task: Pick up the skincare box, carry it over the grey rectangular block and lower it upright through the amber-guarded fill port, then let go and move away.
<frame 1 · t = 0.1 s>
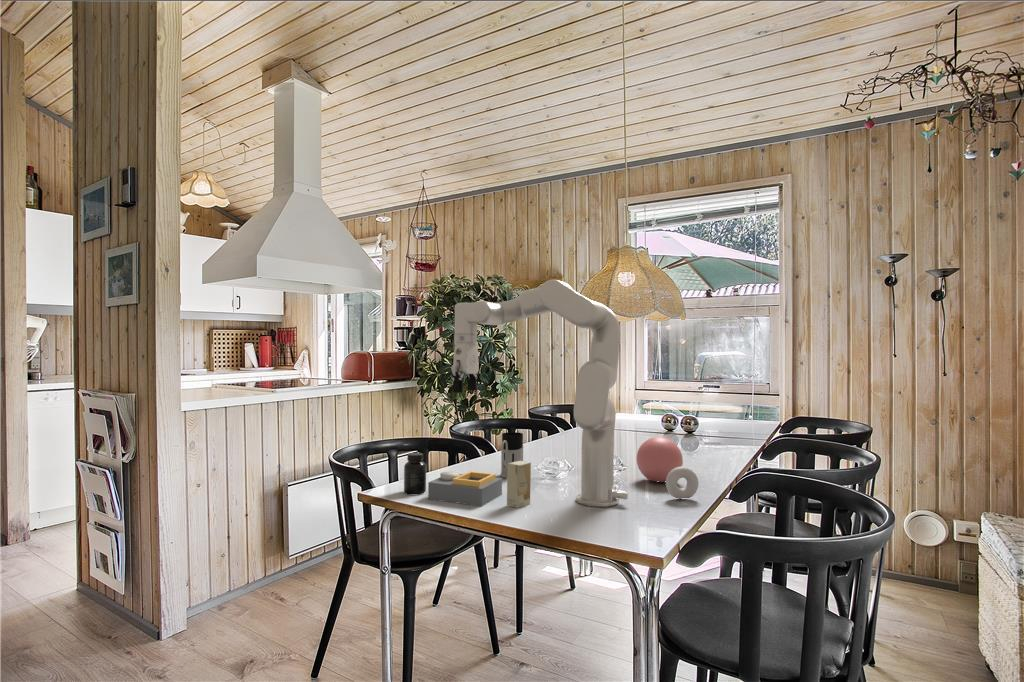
hand: (465, 391, 180), 31 cm above the table, tool pointing down, fingers open, 9 cm apart
skincare box: (518, 505, 158), on the table
donut: (682, 500, 165), on the table
pink ellipsoid: (658, 481, 189), on the table
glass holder: (509, 477, 192), on the table
supplement bottle: (414, 492, 171), on the table
grey rectangular block: (465, 496, 166), on the table
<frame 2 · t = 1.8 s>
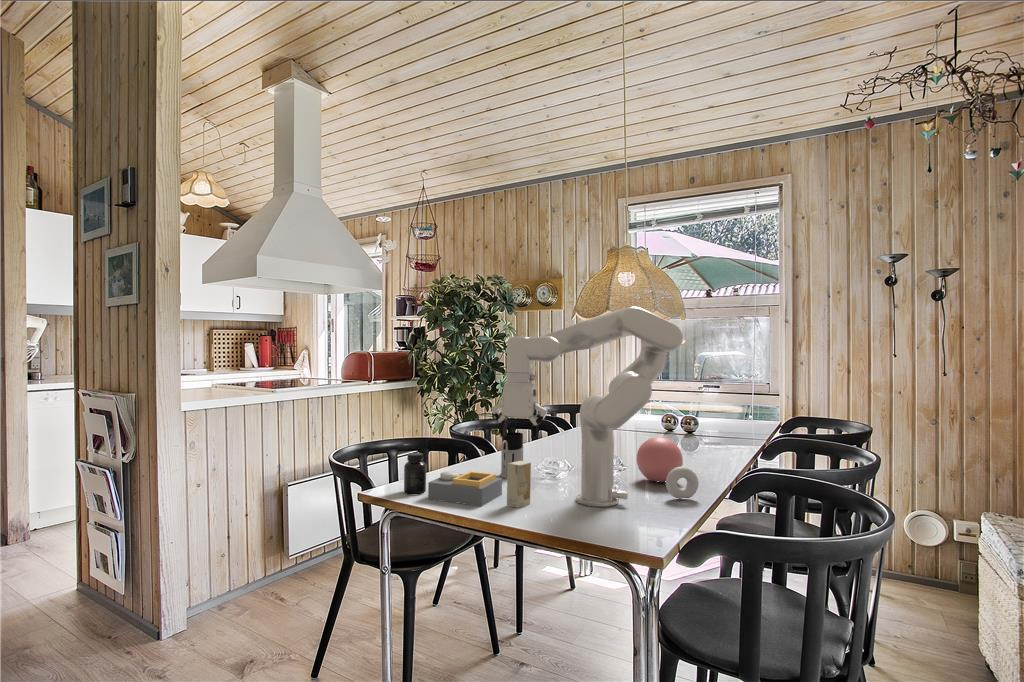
hand: (518, 437, 158), 20 cm above the table, tool pointing down, fingers open, 9 cm apart
nothing on the table moved.
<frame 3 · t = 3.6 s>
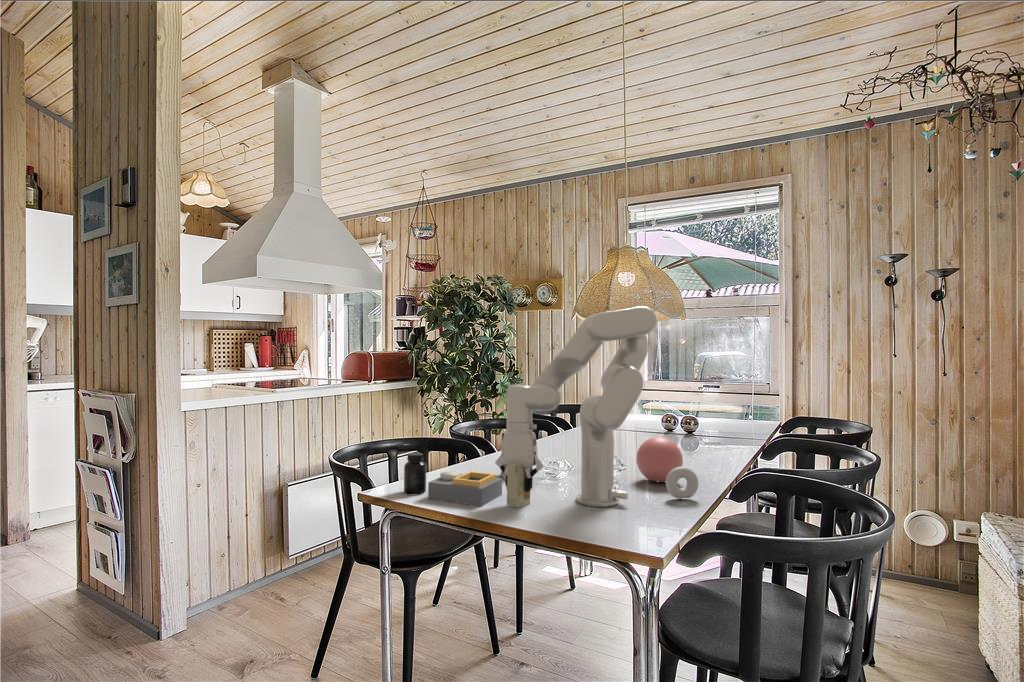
hand: (518, 489, 158), 4 cm above the table, tool pointing down, fingers closed on skincare box, 5 cm apart
skincare box: (518, 505, 158), on the table, touching gripper
everything else where it was.
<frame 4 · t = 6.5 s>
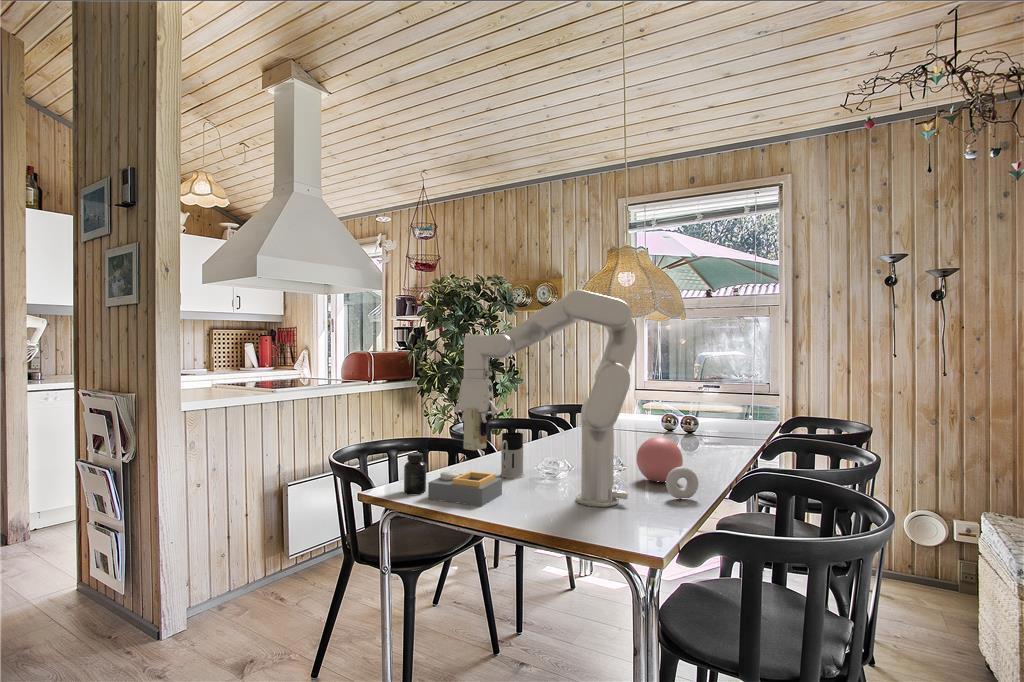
hand: (475, 434, 165), 19 cm above the table, tool pointing down, fingers closed on skincare box, 5 cm apart
skincare box: (475, 449, 165), point 15 cm above the table, touching gripper
everything else where it was.
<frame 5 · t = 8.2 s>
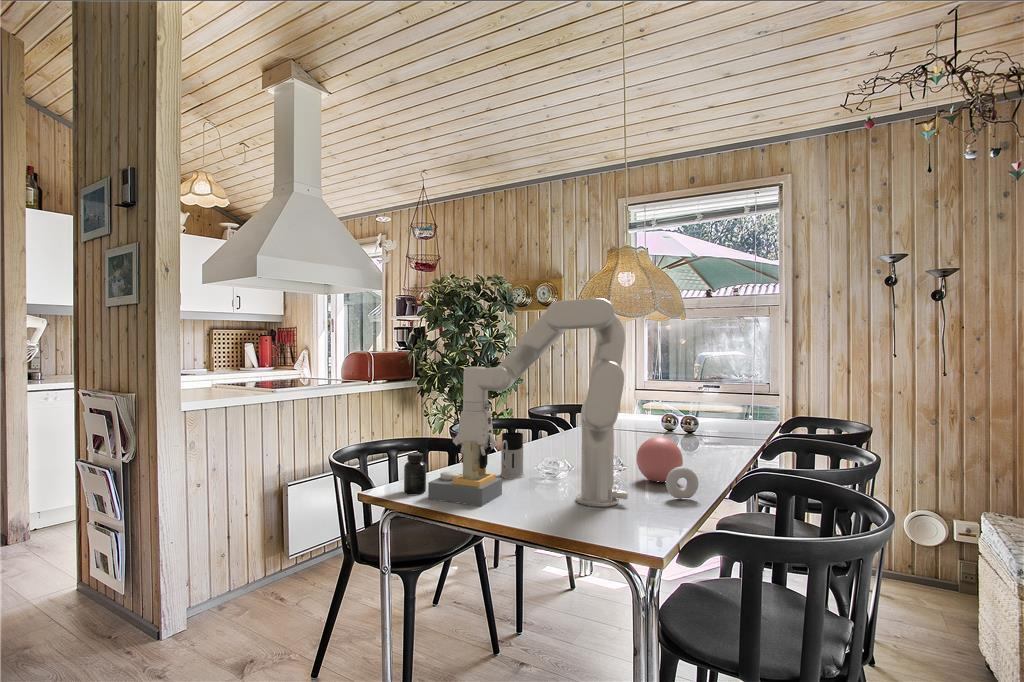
hand: (474, 466, 165), 10 cm above the table, tool pointing down, fingers closed on skincare box, 5 cm apart
skincare box: (474, 481, 165), point 5 cm above the table, touching gripper
everything else where it was.
when the fingers open (8 cm above the table, at t = 9.6 s): skincare box drops 3 cm, resting on grey rectangular block.
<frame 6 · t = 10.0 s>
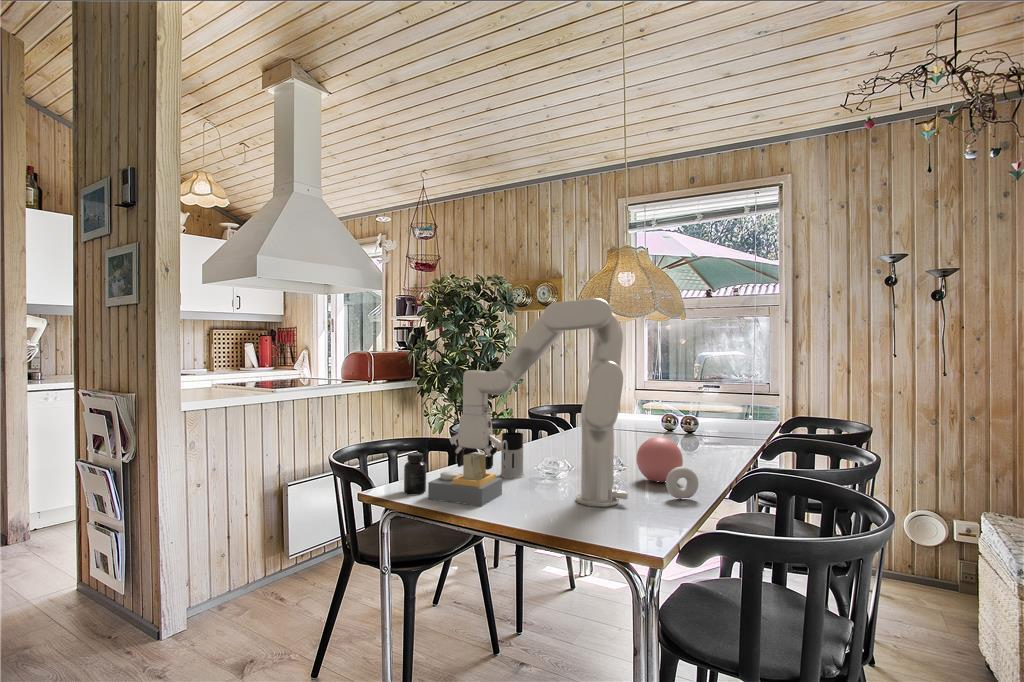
hand: (474, 467, 165), 9 cm above the table, tool pointing down, fingers open, 9 cm apart
skincare box: (474, 494, 165), point 1 cm above the table, touching grey rectangular block
everything else where it was.
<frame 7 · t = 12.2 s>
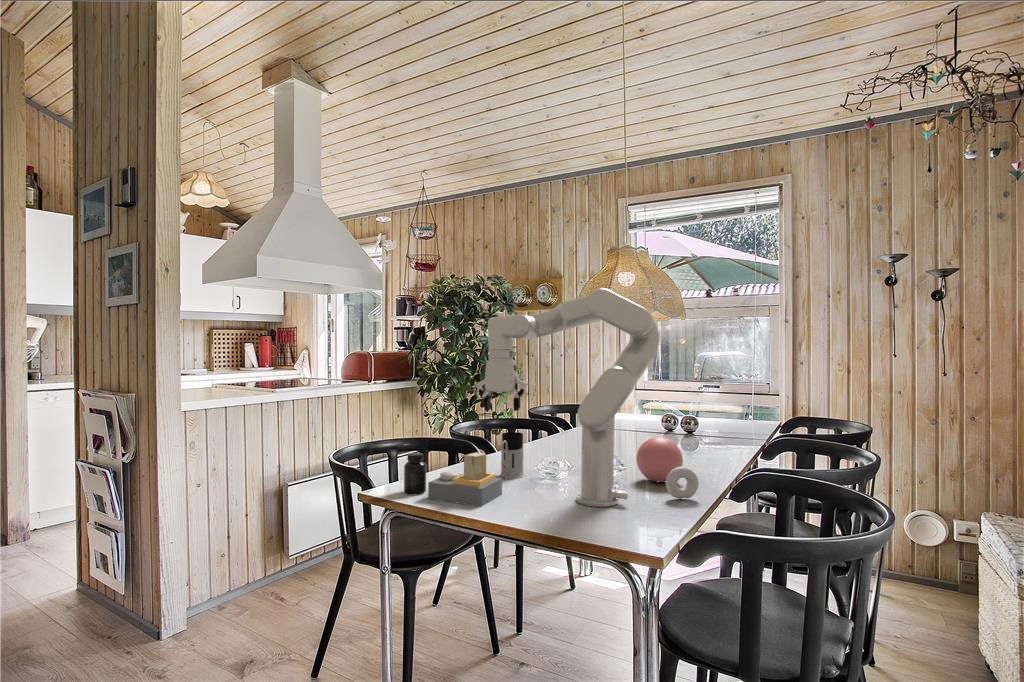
hand: (502, 410, 170), 26 cm above the table, tool pointing down, fingers open, 9 cm apart
nothing on the table moved.
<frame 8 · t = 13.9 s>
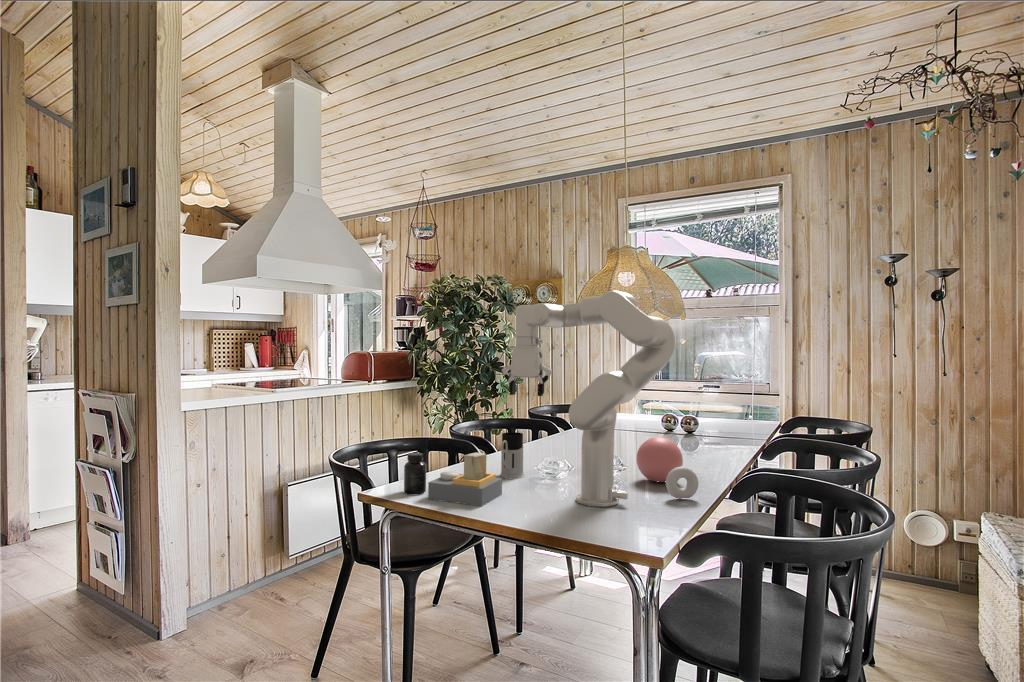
hand: (526, 395, 177), 30 cm above the table, tool pointing down, fingers open, 9 cm apart
nothing on the table moved.
at the end: skincare box 0.1 cm from the target spot on the grey rectangular block, point 0.8 cm above the grey rectangular block's base; skincare box tilted 0°; the gripper is holding nothing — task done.
